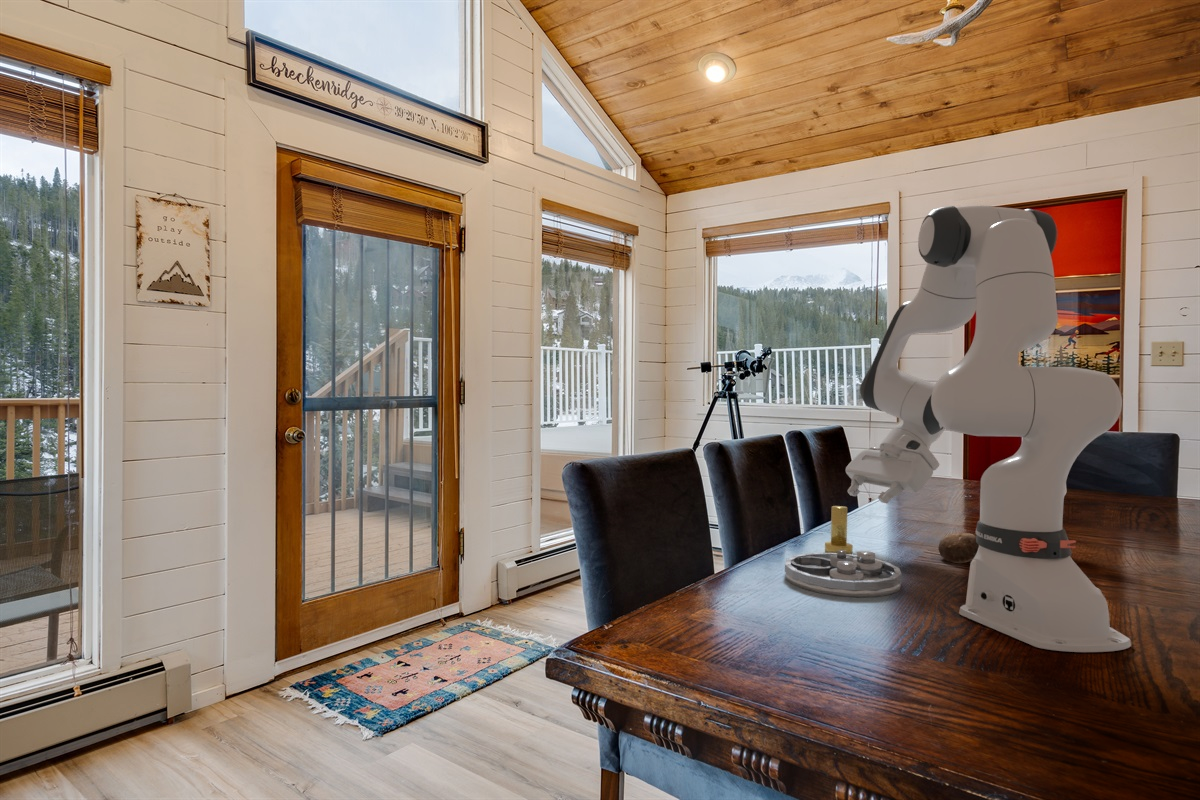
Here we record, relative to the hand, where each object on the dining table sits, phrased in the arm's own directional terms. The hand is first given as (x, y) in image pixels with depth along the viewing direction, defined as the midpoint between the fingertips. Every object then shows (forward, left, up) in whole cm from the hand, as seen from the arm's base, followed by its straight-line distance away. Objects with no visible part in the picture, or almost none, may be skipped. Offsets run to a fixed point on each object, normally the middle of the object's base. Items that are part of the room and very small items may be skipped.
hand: (866, 497), depth 149 cm
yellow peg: (-2, +7, -11) cm, 14 cm away
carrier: (-22, +15, -11) cm, 29 cm away
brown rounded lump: (-10, -15, -12) cm, 22 cm away
